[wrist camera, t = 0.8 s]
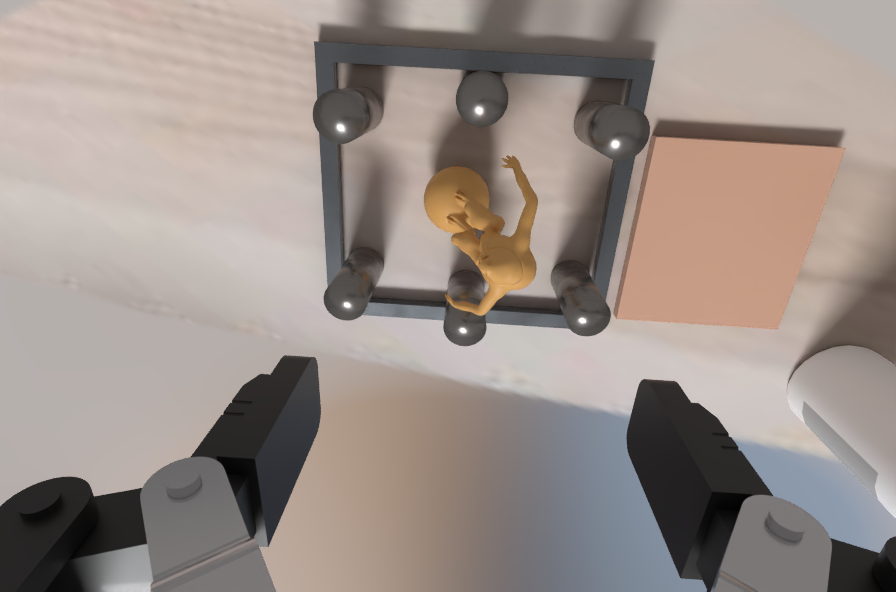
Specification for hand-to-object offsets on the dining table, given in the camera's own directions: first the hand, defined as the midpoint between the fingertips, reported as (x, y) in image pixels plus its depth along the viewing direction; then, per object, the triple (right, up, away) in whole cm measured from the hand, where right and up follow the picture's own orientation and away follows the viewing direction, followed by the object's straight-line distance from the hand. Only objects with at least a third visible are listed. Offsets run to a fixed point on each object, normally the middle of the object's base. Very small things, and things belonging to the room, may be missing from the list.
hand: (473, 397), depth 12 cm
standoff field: (+1, +9, +19) cm, 21 cm away
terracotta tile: (+17, +6, +20) cm, 27 cm away
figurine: (+1, +9, +19) cm, 21 cm away
